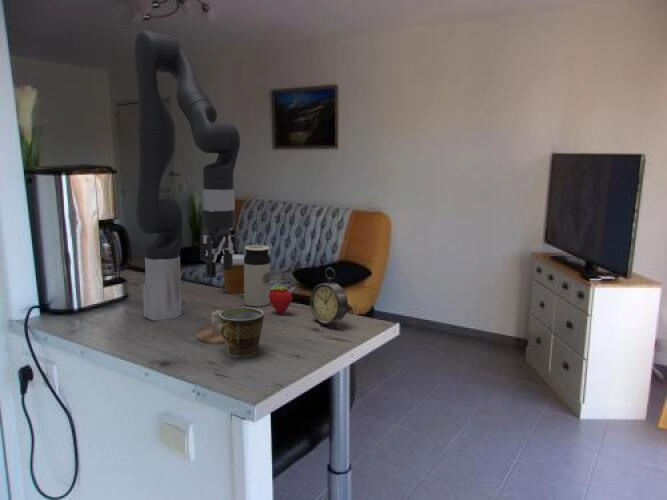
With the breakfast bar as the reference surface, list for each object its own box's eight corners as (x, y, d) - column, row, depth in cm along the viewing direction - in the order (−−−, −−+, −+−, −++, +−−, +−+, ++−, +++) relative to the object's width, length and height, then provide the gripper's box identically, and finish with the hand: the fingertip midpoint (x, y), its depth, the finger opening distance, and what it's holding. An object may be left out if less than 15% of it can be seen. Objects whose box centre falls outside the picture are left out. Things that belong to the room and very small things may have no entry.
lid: (186, 340, 123) (185, 316, 122) (211, 325, 135) (210, 303, 134) (231, 346, 120) (231, 322, 119) (252, 330, 131) (252, 308, 130)
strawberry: (282, 319, 143) (282, 285, 141) (264, 314, 148) (264, 280, 146) (296, 315, 147) (297, 282, 146) (278, 309, 152) (279, 277, 150)
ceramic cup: (235, 344, 123) (235, 304, 122) (271, 351, 120) (271, 310, 118) (202, 363, 112) (202, 319, 110) (241, 371, 108) (241, 326, 106)
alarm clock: (308, 322, 141) (309, 265, 138) (321, 318, 145) (323, 263, 142) (337, 332, 134) (338, 272, 131) (350, 327, 138) (352, 269, 135)
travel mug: (238, 303, 157) (238, 246, 154) (258, 298, 163) (258, 243, 160) (255, 308, 152) (255, 250, 149) (275, 303, 158) (275, 247, 155)
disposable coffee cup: (236, 296, 165) (235, 260, 163) (215, 291, 170) (214, 256, 168) (255, 290, 173) (255, 256, 171) (234, 286, 178) (234, 252, 176)
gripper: (219, 205, 129) (220, 266, 132) (189, 209, 116) (191, 278, 119) (246, 206, 127) (246, 269, 130) (218, 211, 114) (219, 281, 117)
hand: (220, 273), depth 125 cm, fingers open, 8 cm apart
